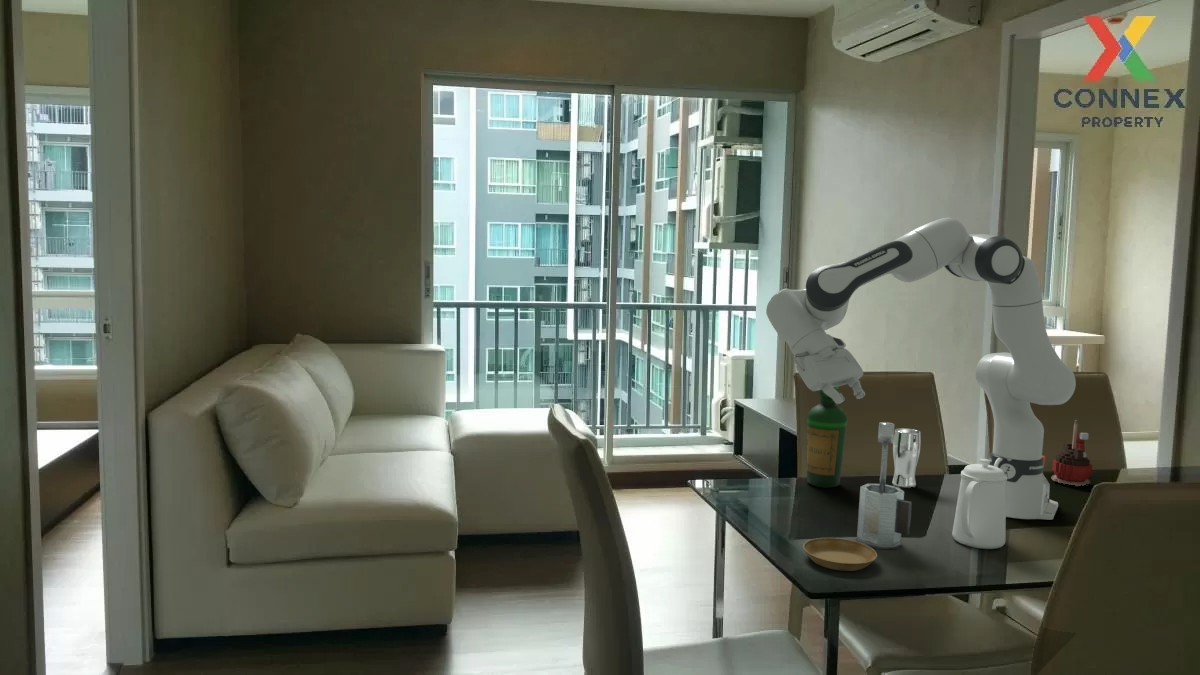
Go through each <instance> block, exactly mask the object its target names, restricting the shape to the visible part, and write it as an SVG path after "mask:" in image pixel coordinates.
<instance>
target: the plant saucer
mask: <svg viewBox="0 0 1200 675" xmlns="http://www.w3.org/2000/svg"><path fill="white" fill-rule="evenodd" d="M802 549H803V550H804V552H805V554H807V556H808V558H810V560H811V561H813V562H814V563H815V564H817V565H819V566H820V567H824V568H827V569H830V570H835V571H842V572H843V571H844V572H845V571H846V572H853V571H860V570H863V569H865V568H866V567H868V566H870V565H871V564H872V563H874V561H875V560H876V559H877V557H878V553H877V552H876V550H875V549H874V548H871V547H869V546H867V545H865V544H862V543H859V542H857V540H856V541H855V540H850V539H845V538H838V537H818V538H813V539H809V540H806V541H805V542H804V543H803V545H802Z"/></svg>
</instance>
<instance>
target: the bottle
mask: <svg viewBox="0 0 1200 675" xmlns="http://www.w3.org/2000/svg"><path fill="white" fill-rule="evenodd" d="M833 388H834V389H835V390H836V391H837V392H838V393H840V392H839V386H836V387H833ZM817 395H818V396H819V397H820V399H819V400H820V401H819V402H820V403H819V404H817V405H814V406H813V407H812V408H811V409H810V410H809V411H808V413H807V415H806V482H807V483H808V484H809V485H811V486H814V487H817V488H821V489H832V488H836V487H838V486H840V482H841V475H842V474H841V473H842V465H843V457H844V451H845V450H844V448H845V441H846V435H847V428H848V427H847V426H848V420H849V416H848V415H847V413H846V412H845V410H843V409H842V408H841V407H840V406H838V405H837V404H836V403H835V402H834V400H833V399H832V398H830V397H829V396H828V395H826V394H825V393H824V392H823V391H822V390H818V393H817Z"/></svg>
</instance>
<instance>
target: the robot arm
mask: <svg viewBox="0 0 1200 675" xmlns="http://www.w3.org/2000/svg"><path fill="white" fill-rule="evenodd" d="M943 267H944V269H946V271H947V272H949V273H950V274H951V275H953V276H955V277H958V278H963V279H967V280H970V281H975V282H987V283H988V286H989V288H990V292H991V309H992V319H993V320H992V321H993V329H994V330H993V331H994V334H995V336H996V337H997V339H998V340H1000V342H1002V344H1004V346H1005V347H1006V348H1007V350H1008V351H1009V352H993V353H988V354H985V355H983V356H982V358H980V360H978V362H977V365H976V368H975V380H976V383H977V384H978V386H979V387H980V388H981V389H982V390H983V392H984V393H985V395H986V397H987V399H988V401H989V404H990V408H991V412H992V416H993V441H992V442H993V444H992V451H991V452H990V456H989V460H990V463H989V465H991V466H994V464H995V461H996V460H997V459H998V458H1002V459H1003V460H1002V461H1000V463H999V465H998V468H1000V469H1001V470H1003V472H1004V474H1005V476H1006V477H1007V481H1006V518H1012V519H1020V520H1045V521H1046V520H1049V521H1050V520H1054V517H1055V515H1056V513H1057V511H1058V508H1059V502H1058V501H1055V500H1052V499H1050V488H1051V484H1050V483H1049V481H1048V479H1047V478H1046V477H1045V475H1044V471H1045V470H1044V467H1045V462H1046V456H1045V455H1043V446H1044V438H1045V437H1044V436H1045V434H1044V433H1045V428H1044V424H1043V423H1042V422H1041V421H1040V420H1039V419H1038V418H1037V416H1036V415H1035V413H1034V411H1033V409H1032V406H1031V404H1036V405H1040V406H1056V405H1057V406H1059V405H1063V404H1065V403H1067V402H1068V401H1069V400H1070V399H1071V398H1072V396H1073V395H1074V393H1075V390H1076V383H1077V382H1076V377H1075V373H1074V372H1073V370H1072V369H1071V368H1070V367H1069V366H1068V365H1067V364H1066V363H1065V362H1063V360H1062V359H1061V358H1060V357H1059V355H1058V354H1057V352H1056V350H1055V347H1054V346H1053V345H1052V342H1051V340H1050V338H1049V335H1048V332H1047V329H1046V323H1045V316H1044V307H1043V306H1044V305H1043V296H1042V295H1043V294H1042V289H1041V288H1042V287H1041V283H1040V278H1039V274H1038V270H1037V268H1036V265H1035V262H1034V261H1033V260H1032V259H1031V258H1029V257H1027V256H1024V255H1023V253H1022V251H1021V249H1020V247H1019V246H1018V244H1016V243H1015V241H1013V240H1011V239H1009V238H1007V237H1005V236H1001V235H993V234H987V233H979V234H977V233H973V234H971V233H968V230H967V228H966V227H965V226H964V224H963V223H962V222H960V220H959V219H956V218H954V217H948V216H947V217H942V218H939V219H936V220H933V221H930V222H928V223H925V224H923V225H921V226H919V227H916V228H914V229H913V230H910V231H909V232H907V233H905V234H902V235H901V236H899V237H897V238H896V239H894V240H892V241H889V242H887V243H885V244H882V245H879V246H878V247H875V248H873V249H871V250H868V251H867V252H865V253H862V254H859V255H858V256H856V257H854V258H850V259H849V260H847V261H844V262H840V263H833V264H825V265H821V266H819V267H817V268H815V269H814V270H813V271H812V272H811V273H810V274H809V275H808V277H807V279H806V281H805V288H804V289H790V288H783V289H781V290H779V291H777V292H776V293H775V294H774V295H773V296H772V297H771V299H769V302H768V303H767V306H766V308H765V309H766V312H765V313H766V317H767V318H768V320H769V323H770V324H771V326H772V328H773V329H774V330H775V332H776V333H777V335H778V336H779V338H781V339H782V340H783V341H784V342H785V343H787V345H788V347H789V348H788V349H789V350H790V352H791V354H792V355H793V361H794V363H795V368H796V371H797V372H798V375H799V376H800V378H801V379H802V381H803V382H804V384H805V386H806V387H807V388H808V389H809V390H810V391H811V392H816V391H817V392H819V390H822V391H823V392H824V393H825V394H826V395H828V396H829V397H830V398H832V399H833V400H834V402H835V403H836V405H840V404H842V403H843V402H844V401H845V399H846V398H845V396H843V393H842V392H839V393H838V392H837V391H836V390H835V389H834V388H833V387H841V386H844V385H848V387H849V388H852V391H853V396H855V398H856V400H859V399H863V398H864V397H865V396H866V392H865V391H864V389H863V388H862V384H861V381H860V380H859V379H861V378H862V377H863V376H864V371H863V368H862V366H861V365H860V364H859V362H858V361H857V359H856V358H855V357H854V355H853V354H852V353H851V352H850V351H849V350H848V349H847V348H846V346H847V344H846V343H845V342H844V340H843V339H842V338H838V337H835V336H832V335H830V334H829V333H827V332H826V330H829V329H831V328H833V327H835V326H837V325H838V324H840V323H841V322H842V321H843V320H844V318H845V317H846V315H847V311H848V306H849V302H850V299H851V297H852V296H853V295H854V293H855V292H856V291H857V290H858V289H859V288H860V287H862V286H864V285H866V284H870V283H871V282H872V281H875V280H877V279H878V278H881V277H884V276H886V275H889V274H891V275H892V276H893V278H895V279H897V280H898V281H901V282H904V283H912V282H916V281H919V280H921V279H924V278H926V277H928V276H930V275H932V274H934V273H935V272H937V271H939V270H940V269H943Z"/></svg>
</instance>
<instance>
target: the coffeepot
mask: <svg viewBox="0 0 1200 675" xmlns="http://www.w3.org/2000/svg"><path fill="white" fill-rule="evenodd" d="M1002 460H1003V459H1002V458H998V459H997V460H996V461H995V464H994V466H991V465H990V459H988V458H980V459H979V462H980V463H971V464H968V465H966V466H965V467H964V469H962V470H961V471H960V476H961V477H960V479H961V480H960V483H959V490H958V494H957V502H956V509H955V514H954V519H953V521H954V522H953V526H952V533H951V534H952V537H953V539H954V540H955V541H956V542H958V544H959V543H960V544H961V545H963V546H967V547H970V548H975V549H983V550H995V549H1000V548H1002V547H1003V546H1004V545H1005V544H1006V534H1007V533H1006V528H1007V527H1006V525H1007V523H1006V518H1007V517H1006V481H1007V477H1006V476H1005V474H1004V472H1003V470H1001V469H1000V468H998V465H999V463H1000V461H1002Z"/></svg>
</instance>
